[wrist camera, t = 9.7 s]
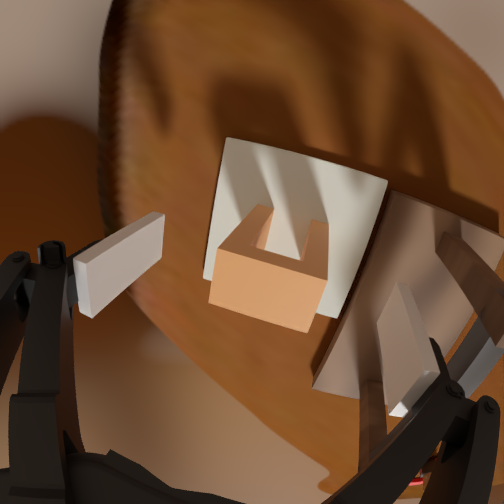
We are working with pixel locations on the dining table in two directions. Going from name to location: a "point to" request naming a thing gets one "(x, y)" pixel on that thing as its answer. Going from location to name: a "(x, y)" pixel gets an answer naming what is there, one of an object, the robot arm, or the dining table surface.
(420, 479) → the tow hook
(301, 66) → the dining table surface
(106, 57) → the dining table surface
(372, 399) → the stand
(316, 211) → the rubber mat
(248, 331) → the dining table surface
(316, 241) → the c-link
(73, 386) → the robot arm
